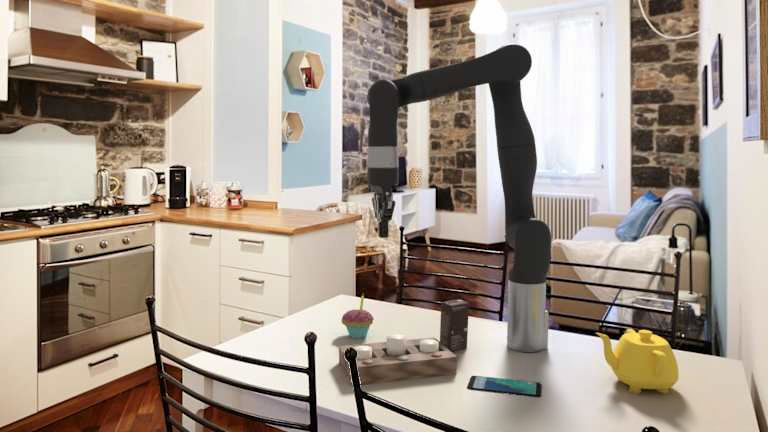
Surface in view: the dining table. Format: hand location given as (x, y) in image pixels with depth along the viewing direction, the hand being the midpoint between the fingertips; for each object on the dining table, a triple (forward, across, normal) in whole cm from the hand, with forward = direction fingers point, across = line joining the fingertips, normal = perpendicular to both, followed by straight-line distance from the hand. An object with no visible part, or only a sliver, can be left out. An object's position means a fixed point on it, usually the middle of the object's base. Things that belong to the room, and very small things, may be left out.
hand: (383, 237), depth 136 cm
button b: (+26, -11, 0) cm, 28 cm away
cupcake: (+29, +15, +3) cm, 33 cm away
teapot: (+29, -34, -46) cm, 64 cm away
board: (+29, -11, 0) cm, 31 cm away
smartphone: (+30, -27, -19) cm, 44 cm away
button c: (+28, -11, +8) cm, 31 cm away
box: (+29, -2, -18) cm, 34 cm away
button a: (+28, -11, -8) cm, 31 cm away
